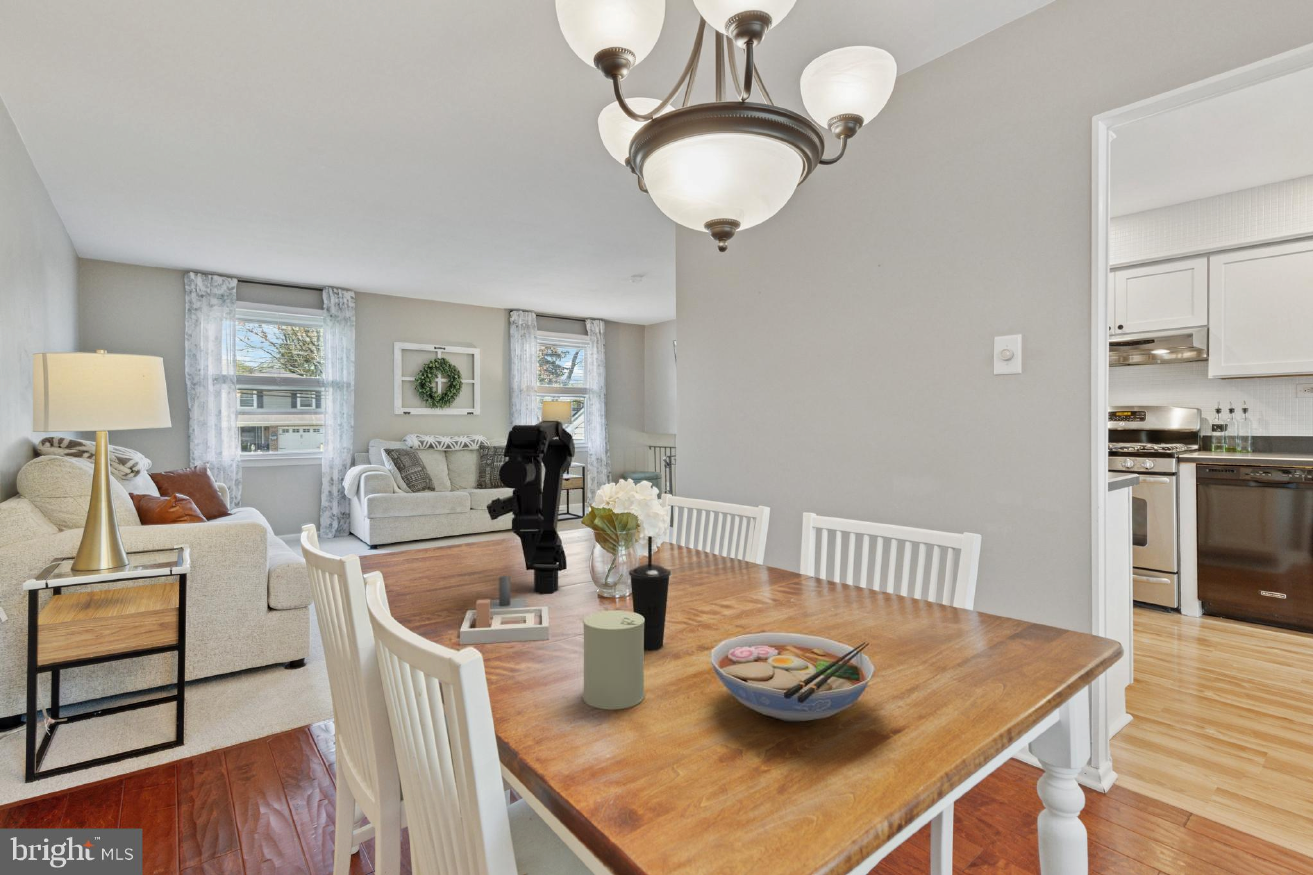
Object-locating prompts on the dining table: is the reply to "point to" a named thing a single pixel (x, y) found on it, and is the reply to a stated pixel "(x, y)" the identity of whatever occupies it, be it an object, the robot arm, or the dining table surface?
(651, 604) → the drinking cup
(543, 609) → the tray
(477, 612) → the ring
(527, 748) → the dining table surface
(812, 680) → the ramen bowl
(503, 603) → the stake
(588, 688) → the can
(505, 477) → the robot arm
